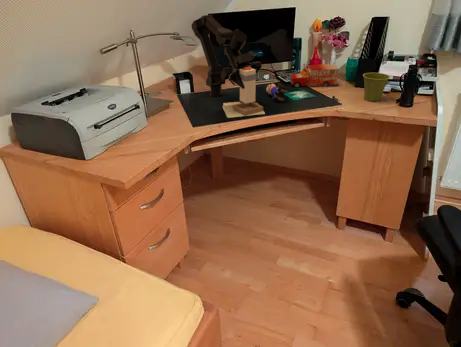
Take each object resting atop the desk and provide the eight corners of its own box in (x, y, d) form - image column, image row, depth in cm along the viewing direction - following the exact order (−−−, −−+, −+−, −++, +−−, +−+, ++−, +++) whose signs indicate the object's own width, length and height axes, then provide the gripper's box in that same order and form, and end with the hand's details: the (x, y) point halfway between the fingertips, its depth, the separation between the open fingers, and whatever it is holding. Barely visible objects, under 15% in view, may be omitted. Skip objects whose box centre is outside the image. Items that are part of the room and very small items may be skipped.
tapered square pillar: (239, 100, 158) (239, 66, 150) (249, 98, 160) (249, 64, 152) (245, 103, 154) (245, 69, 146) (255, 101, 156) (256, 67, 149)
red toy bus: (289, 82, 198) (290, 64, 193) (333, 81, 197) (335, 63, 192) (291, 88, 189) (292, 70, 184) (338, 87, 188) (340, 68, 183)
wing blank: (223, 106, 165) (223, 103, 164) (239, 104, 166) (239, 101, 165) (224, 108, 162) (224, 105, 162) (241, 106, 163) (241, 103, 163)
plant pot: (384, 104, 162) (388, 80, 156) (357, 101, 167) (360, 77, 161) (387, 96, 171) (391, 73, 165) (361, 94, 176) (365, 71, 170)
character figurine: (276, 105, 168) (265, 96, 181) (290, 102, 169) (278, 93, 182) (275, 89, 164) (264, 81, 177) (289, 86, 165) (278, 78, 178)
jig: (222, 108, 166) (221, 102, 164) (257, 105, 168) (257, 98, 166) (227, 120, 153) (227, 113, 151) (265, 116, 155) (265, 109, 154)
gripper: (222, 48, 144) (237, 81, 142) (259, 42, 152) (274, 73, 150) (214, 64, 154) (228, 95, 152) (249, 57, 162) (263, 86, 160)
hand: (249, 87), depth 153 cm, fingers closed on tapered square pillar, 5 cm apart
